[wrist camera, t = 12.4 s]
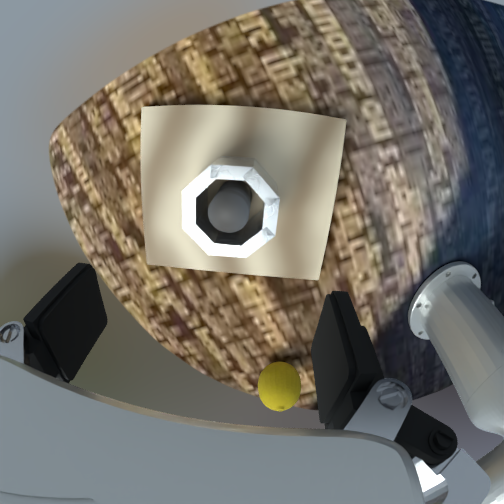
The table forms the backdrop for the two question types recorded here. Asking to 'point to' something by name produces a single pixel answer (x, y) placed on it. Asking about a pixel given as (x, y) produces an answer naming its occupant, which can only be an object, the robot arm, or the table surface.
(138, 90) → the table surface
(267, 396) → the lemon
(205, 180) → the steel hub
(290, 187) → the post board
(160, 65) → the table surface
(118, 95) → the table surface
